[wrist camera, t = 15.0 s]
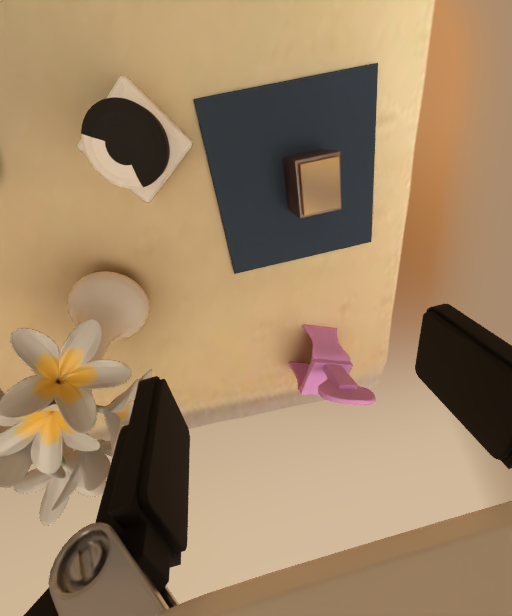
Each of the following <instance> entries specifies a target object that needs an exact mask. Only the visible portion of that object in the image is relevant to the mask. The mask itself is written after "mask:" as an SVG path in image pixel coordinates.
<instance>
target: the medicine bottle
mask: <svg viewBox="0 0 512 616" xmlns="http://www.w3.org/2000/svg"><path fill="white" fill-rule="evenodd" d="M192 145H193V141H192V140H191V139H190V138H189V137H188V136H187V135H186V134H185V133H184V132H183V131H182V130H181V129H180V128H179V127H178V126H177V125H176V124H175V123H174V122H173V121H172V120H171V119H170V118H169V117H168V116H167V115H166V114H165V113H164V112H163V111H162V110H161V109H160V108H159V107H158V106H157V105H156V104H155V103H154V102H153V101H152V100H151V99H150V98H149V97H148V96H147V95H145V94H144V93H143V92H142V91H141V90H140V89H139V88H138V87H137V86H136V85H135V84H134V83H132V82H131V81H130V80H129V79H128V78H127V77H125V76H120V77H119V78H118V80H117V82H116V83H115V85H114V86H113V88H112V89H111V91H110V93H109V94H108V96H107V97H106V99H103V100H101V101H99V102H97V103H96V104H94V105H93V106H92V107H91V108H90V109H89V110H88V112H87V114H86V115H85V118H84V120H83V124H82V130H81V139H80V140H79V142H78V144H77V147H78V149H79V150H80V151H81V152H83V153H84V154H85V155H86V156H87V158H88V160H89V162H90V163H91V165H92V166H93V167H94V169H95V170H96V171H97V172H98V173H99V174H100V175H101V176H102V177H103V178H104V179H106V180H107V181H109V182H110V183H112V184H114V185H117V186H119V187H123V188H127V189H129V190H131V191H132V192H133V193H134V194H136V195H137V196H138V197H139V198H141V199H142V200H143V201H144V202H146V203H149V202H150V201H151V200H152V199H153V197H154V196H155V195H156V193H157V192H158V191H159V189H160V188H161V187H162V185H163V184H164V183H165V181H166V180H167V179H168V177H169V176H170V175H171V174H172V172H173V171H174V170H175V168H176V167H177V166H178V164H179V163H180V162H181V160H182V159H183V158H184V156H185V155H186V154H187V152H188V151H189V150H190V148H191V147H192Z"/></svg>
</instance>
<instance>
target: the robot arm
mask: <svg viewBox="0 0 512 616" xmlns="http://www.w3.org/2000/svg"><path fill="white" fill-rule="evenodd" d="M415 370H416V373H417V375H418V377H419V378H420V379H421V380H422V381H423V382H424V383H425V384H426V385H427V387H428V388H429V389H430V390H431V391H432V392H433V393H434V394H435V395H436V396H437V397H438V398H439V399H440V401H441V402H442V403H443V404H444V405H445V406H446V407H447V408H448V409H449V410H450V411H451V412H452V414H453V415H454V416H455V417H456V418H457V419H458V420H459V421H460V422H461V423H462V424H463V425H464V426H465V428H466V429H467V430H468V431H469V432H470V433H471V434H472V435H473V436H474V437H475V438H476V439H477V440H478V442H479V443H480V444H481V445H482V446H483V447H484V448H485V449H486V450H487V451H488V452H489V453H490V454H491V455H492V456H493V457H494V458H496V459H498V460H501V461H502V462H503V463H504V464H505V465H506V466H507V468H508V469H510V468H512V346H511V345H510V344H508V343H507V342H505V341H504V340H502V339H501V338H499V337H498V336H496V335H494V334H493V333H491V332H490V331H488V330H487V329H485V328H484V327H482V326H481V325H479V324H478V323H476V322H475V321H473V320H472V319H470V318H469V317H467V316H466V315H464V314H463V313H461V312H460V311H458V310H457V309H455V308H454V307H452V306H451V305H449V304H442V305H438V306H434V307H430V308H429V309H428V310H427V312H426V313H425V314H424V315H423V320H422V327H421V334H420V339H419V346H418V353H417V359H416V365H415ZM189 448H190V436H189V430H188V427H187V425H186V423H185V420H184V418H183V416H182V414H181V412H180V410H179V408H178V406H177V403H176V401H175V399H174V397H173V395H172V393H171V391H170V389H169V387H168V384H167V382H166V380H165V379H162V380H160V379H159V377H158V376H156V377H152V378H148V379H144V380H140V381H139V383H138V387H137V391H136V396H135V400H134V404H133V408H132V412H131V416H130V421H129V425H125V426H123V427H122V428H121V430H120V433H119V436H118V440H117V443H116V447H115V451H114V455H113V458H112V462H111V466H110V470H109V474H108V477H107V481H106V485H105V489H104V492H103V496H102V500H101V504H100V508H99V512H98V515H97V519H96V523H93V524H90V525H88V526H86V527H84V528H82V529H81V530H79V531H78V532H77V533H76V534H74V535H73V536H72V537H71V538H70V539H69V541H68V542H67V543H66V544H65V545H64V546H63V547H62V550H61V551H60V552H59V554H58V556H57V557H56V559H55V561H54V564H53V567H52V569H51V572H50V578H49V588H48V589H47V590H46V592H45V593H44V594H43V595H42V596H41V597H40V598H39V599H38V600H37V602H36V603H35V604H34V605H33V606H32V607H31V608H30V609H29V611H28V612H27V613H26V614H25V615H24V616H512V501H509V502H506V503H503V504H499V505H496V506H492V507H489V508H485V509H482V510H479V511H475V512H472V513H468V514H465V515H462V516H458V517H455V518H452V519H448V520H445V521H441V522H438V523H435V524H431V525H428V526H425V527H421V528H418V529H415V530H411V531H408V532H405V533H401V534H398V535H395V536H391V537H388V538H384V539H381V540H378V541H374V542H371V543H368V544H365V545H361V546H358V547H354V548H351V549H348V550H344V551H342V552H338V553H335V554H332V555H328V556H325V557H321V558H318V559H315V560H312V561H308V562H305V563H302V564H298V565H295V566H292V567H289V568H285V569H282V570H279V571H275V572H272V573H269V574H266V575H263V576H259V577H256V578H253V579H250V580H247V581H244V582H241V583H238V584H235V585H232V586H229V587H226V588H223V589H220V590H217V591H214V592H211V593H207V594H205V595H202V596H200V597H197V598H194V599H192V600H189V601H187V602H184V603H182V604H178V602H177V601H176V599H175V598H174V597H173V595H172V594H171V592H170V591H169V589H168V588H167V587H166V584H167V583H168V581H169V568H170V567H173V566H177V565H180V564H181V552H182V551H185V550H186V547H187V527H188V488H189V487H188V486H189Z"/></svg>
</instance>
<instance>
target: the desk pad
mask: <svg viewBox="0 0 512 616" xmlns="http://www.w3.org/2000/svg"><path fill="white" fill-rule="evenodd" d="M377 73H378V63H375V64H370V65H365V66H360V67H355V68H350V69H345V70H340V71H335V72H330V73H325V74H319V75H314V76H309V77H304V78H299V79H294V80H289V81H284V82H279V83H274V84H269V85H264V86H259V87H254V88H248V89H243V90H238V91H233V92H228V93H223V94H218V95H213V96H208V97H203V98H198V99H194V102H195V107H196V111H197V115H198V119H199V124H200V128H201V132H202V137H203V141H204V145H205V149H206V154H207V158H208V162H209V166H210V171H211V175H212V179H213V184H214V188H215V192H216V196H217V201H218V205H219V209H220V213H221V218H222V222H223V226H224V231H225V235H226V239H227V243H228V248H229V252H230V256H231V260H232V265H233V269H234V273H235V274H236V273H240V272H244V271H249V270H253V269H257V268H261V267H266V266H270V265H274V264H278V263H283V262H287V261H291V260H295V259H300V258H304V257H308V256H312V255H317V254H321V253H325V252H329V251H334V250H338V249H342V248H346V247H351V246H355V245H359V244H364V243H368V242H371V236H372V209H373V181H374V154H375V127H376V100H377ZM321 149H326V150H337V151H341V198H342V209H340V210H336V211H332V212H327V213H323V214H318V215H314V216H310V217H305V218H301V219H300V218H299V217H297V216H296V215H295V214H294V213H292V212H291V211H290V210H288V202H287V193H286V185H285V176H284V167H283V158H284V157H289V156H293V155H298V154H303V153H307V152H312V151H317V150H321Z"/></svg>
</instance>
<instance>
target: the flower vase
mask: <svg viewBox="0 0 512 616" xmlns="http://www.w3.org/2000/svg"><path fill="white" fill-rule="evenodd" d="M67 305H68V313H69V315H70V317H71V319H72V321H73V323H74V324H75V325H76V326H77V327H76V328H75V329H74V330H73V331H72V332H71V333H70V335H69V337H68V338H67V340H66V342H65V343H64V345H63V347H62V349H61V351H60V353H59V349H58V346H57V345H56V343H55V342H54V341H53V340H52V339H50V338H49V337H48V336H46V335H45V334H43V333H41V332H39V331H36V330H33V329H28V328H21V329H17V330H16V331H14V332H13V333H12V334H11V337H10V343H11V346H12V348H13V350H14V352H15V353H16V355H17V356H18V357H19V358H20V359H21V361H22V362H23V363H24V364H25V365H26V366H28V367H29V368H30V369H31V370H32V371H33V372H34V373H35V374H36V375H33V376H30V377H28V378H25V379H24V380H22V381H20V382H18V383H17V384H16V385H14V386H13V387H12V388H11V389H9V390H8V391H7V392H6V393H4V392H3V391H2V390H1V389H0V487H4V488H10V487H12V486H14V490H15V491H16V492H18V493H22V494H28V493H34V492H37V491H40V490H41V489H43V488H44V487H45V486H46V485H47V487H46V490H45V493H44V496H43V499H42V502H41V507H40V521H41V523H42V524H43V525H45V526H49V525H50V524H53V523H54V522H55V521H56V520H57V519H58V518H59V517H60V515H61V514H62V513H63V510H64V509H65V507H66V505H67V503H68V500H69V497H70V495H71V494H72V493H73V492H74V490H75V491H77V492H78V493H80V494H82V495H85V496H90V497H93V496H94V497H95V496H99V495H102V494H103V492H104V489H105V485H106V478H107V477H108V474H109V470H110V466H111V465H110V461H109V459H108V458H107V457H106V455H105V454H107V455H109V456H113V455H114V451H115V447H116V443H117V440H118V436H119V433H120V430H121V428H122V427H123V426H122V425H124V426H125V425H129V421H130V416H131V412H132V408H133V404H134V401H130V400H133V399H135V396H136V391H137V387H138V383H139V381H140V380H144V379H148V378H150V377H151V374H152V369H151V370H149V371H148V372H147V373H146V374H145V375H144V376H143V377H142V378H141V379H140V380H138V379H137V380H136V381H135V382H134V383H133V384H132V385H131V386H130V387H129V388H128V389H127V390H126V391H125V392H124V393H122V394H121V395H119V396H118V397H117V398H115V399H114V400H113V401H112V402H111V403H110V404H109V405H107V406H99V405H96V403H95V400H94V398H93V395H92V389H105V388H112V387H116V386H119V385H121V384H124V383H125V382H127V381H128V380H129V379H130V377H131V369H130V368H129V367H128V366H127V365H125V364H124V363H121V362H118V361H115V360H102V358H103V356H104V354H105V352H106V350H107V348H108V346H109V345H110V343H111V342H112V341H117V340H123V339H125V338H128V337H130V336H132V335H134V334H135V333H136V332H138V331H139V330H140V329H141V328H142V327H143V325H144V324H145V323H146V321H147V318H148V315H149V301H148V298H147V295H146V294H145V292H144V290H143V289H142V287H141V286H139V285H138V284H137V283H136V282H135V281H134V280H132V279H130V278H129V277H127V276H125V275H122V274H119V273H116V272H107V271H102V272H94V273H91V274H89V275H86V276H84V277H82V278H81V279H80V280H79V281H77V282H76V283H75V284H74V286H73V287H72V289H71V290H70V293H69V297H68V302H67ZM97 412H99V413H103V414H104V416H105V420H106V424H107V427H108V430H109V433H110V438H111V441H105V440H102V439H101V440H100V439H99V440H96V439H95V438H94V437H92V436H90V435H89V434H87V432H90V431H91V430H92V429H93V428H94V426H95V423H96V420H97ZM14 424H15V425H14ZM11 425H14V426H11ZM73 449H76V450H74V451H73ZM104 453H105V454H104ZM32 462H33V464H34V466H35V467H36V469H34V470H31V471H30V472H28V470H29V468H30V466H31V464H32Z"/></svg>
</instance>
